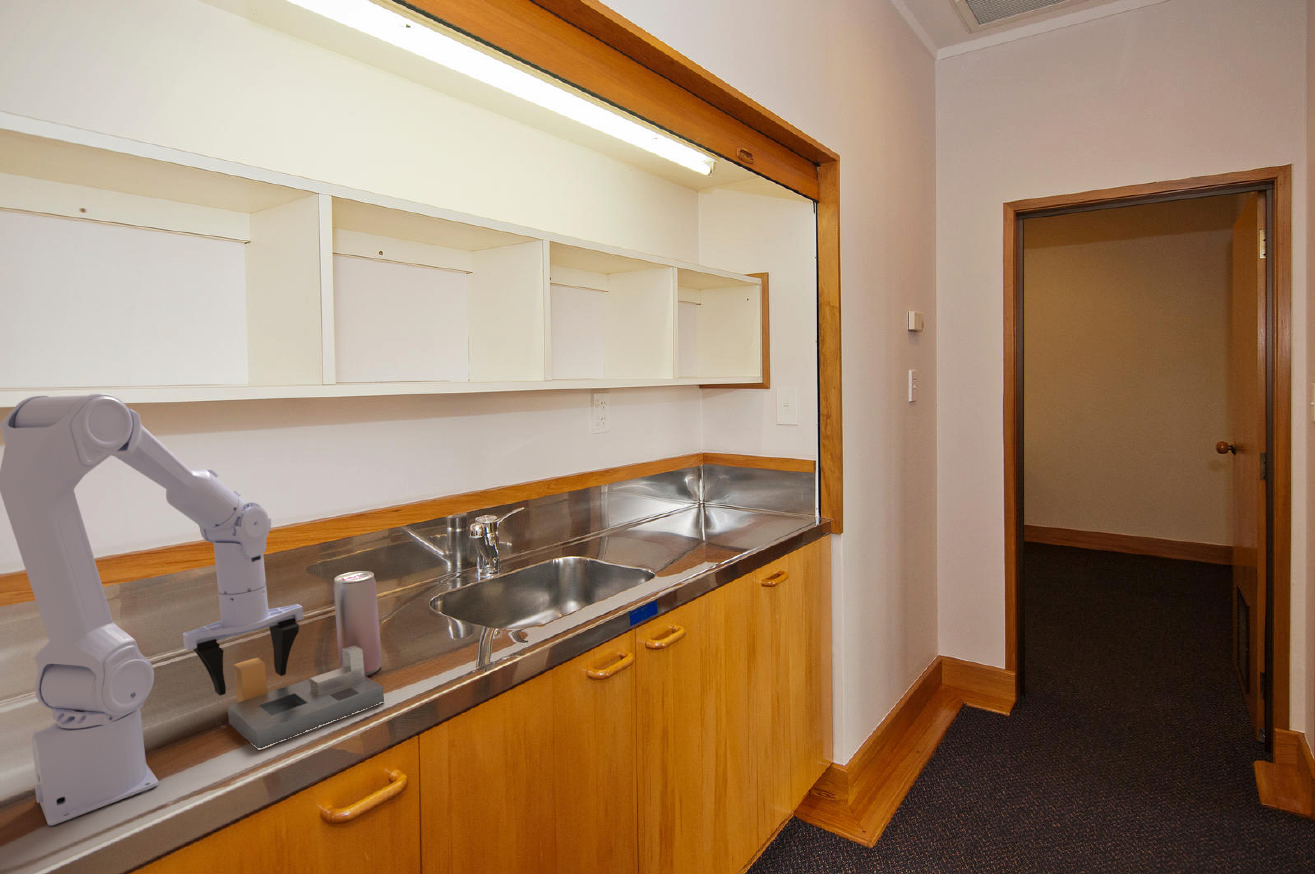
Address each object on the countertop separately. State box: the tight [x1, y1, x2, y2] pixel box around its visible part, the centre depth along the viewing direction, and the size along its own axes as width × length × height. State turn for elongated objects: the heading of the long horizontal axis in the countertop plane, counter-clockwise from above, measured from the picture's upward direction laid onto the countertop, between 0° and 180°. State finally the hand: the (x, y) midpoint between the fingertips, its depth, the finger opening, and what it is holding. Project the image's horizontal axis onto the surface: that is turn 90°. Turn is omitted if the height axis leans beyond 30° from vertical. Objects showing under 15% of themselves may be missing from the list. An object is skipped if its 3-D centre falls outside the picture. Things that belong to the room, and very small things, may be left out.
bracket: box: [309, 646, 365, 696], centre depth 98 cm, size 6×2×4 cm, turn 137°
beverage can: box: [333, 570, 383, 677], centre depth 108 cm, size 6×6×15 cm
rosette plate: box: [227, 676, 385, 748], centre depth 95 cm, size 16×11×2 cm
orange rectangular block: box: [233, 657, 268, 703], centre depth 98 cm, size 3×3×6 cm
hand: (251, 683), depth 98 cm, fingers open, 7 cm apart
